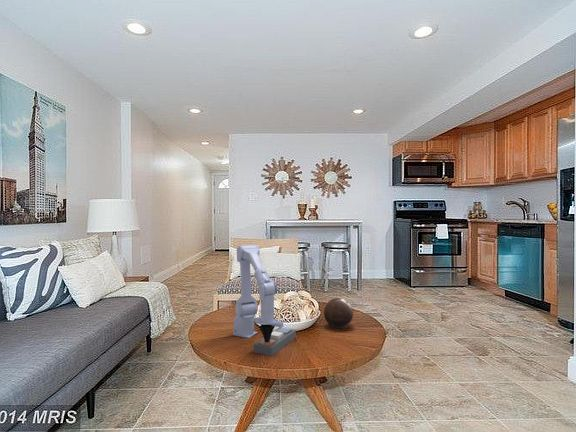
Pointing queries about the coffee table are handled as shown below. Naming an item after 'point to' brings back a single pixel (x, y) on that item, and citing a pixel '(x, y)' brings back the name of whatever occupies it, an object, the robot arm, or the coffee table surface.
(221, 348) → the coffee table surface
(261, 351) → the key console
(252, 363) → the coffee table surface
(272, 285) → the robot arm
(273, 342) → the terracotta key
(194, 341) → the coffee table surface
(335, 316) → the wooden sphere
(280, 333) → the white key
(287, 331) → the blue key
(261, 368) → the coffee table surface
